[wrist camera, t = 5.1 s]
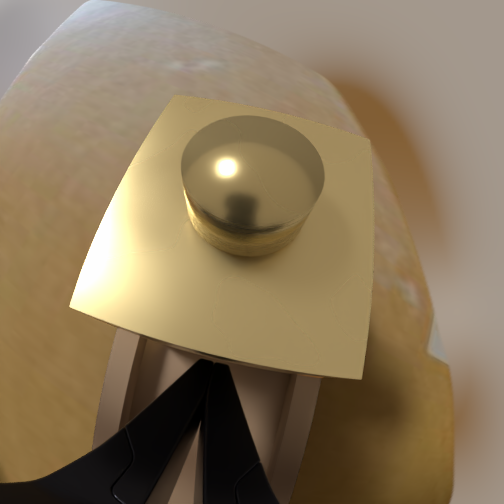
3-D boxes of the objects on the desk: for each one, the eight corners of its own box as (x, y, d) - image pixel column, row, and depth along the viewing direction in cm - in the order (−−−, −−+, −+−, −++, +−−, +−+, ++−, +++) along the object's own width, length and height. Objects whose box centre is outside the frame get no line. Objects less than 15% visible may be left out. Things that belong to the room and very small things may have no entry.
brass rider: (271, 370, 11) (398, 380, 3) (164, 345, 11) (34, 289, 3) (292, 262, 13) (387, 108, 5) (195, 239, 13) (171, 60, 5)
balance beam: (240, 571, 8) (248, 620, 3) (108, 539, 8) (79, 579, 3) (314, 276, 17) (353, 236, 12) (172, 242, 17) (153, 188, 12)
